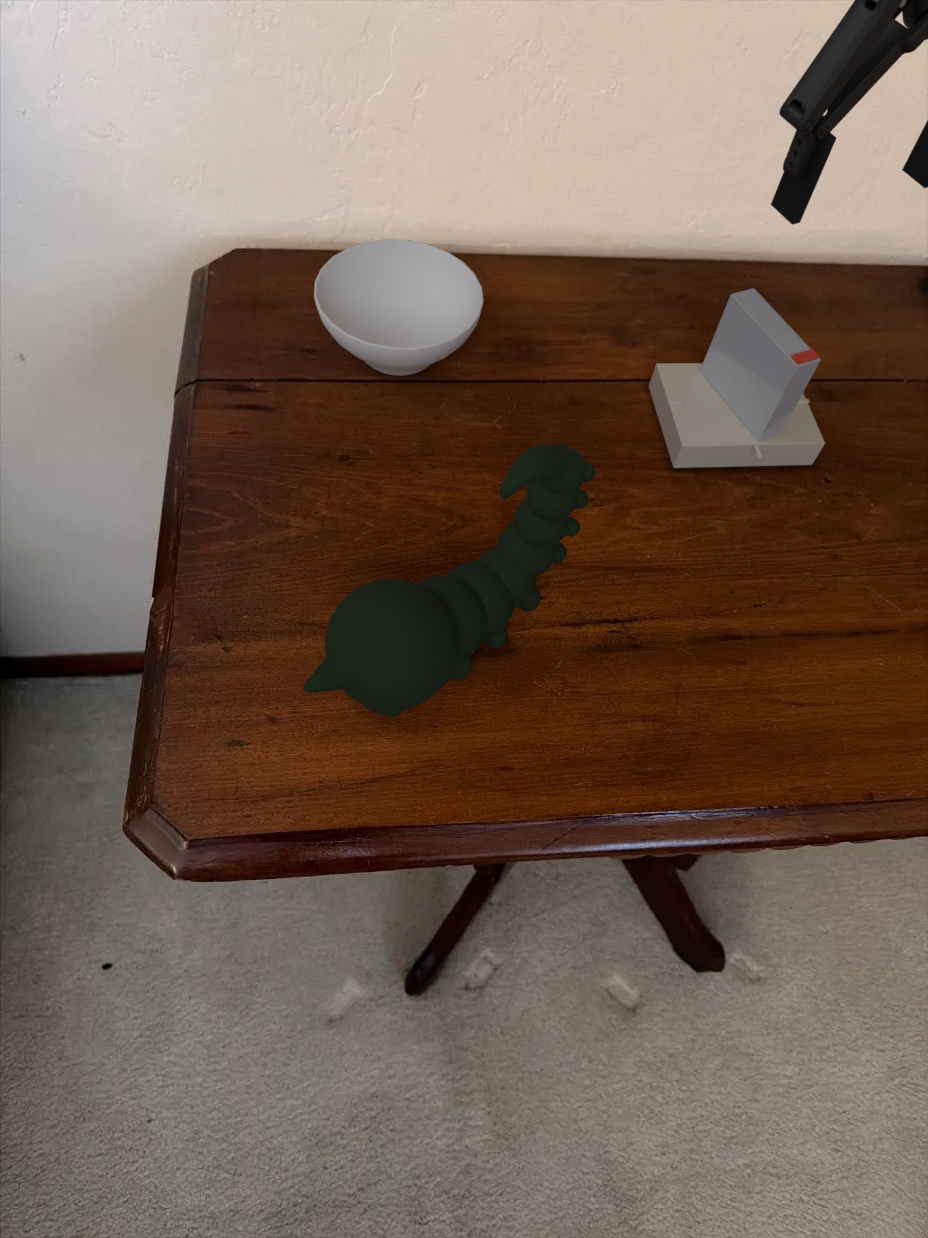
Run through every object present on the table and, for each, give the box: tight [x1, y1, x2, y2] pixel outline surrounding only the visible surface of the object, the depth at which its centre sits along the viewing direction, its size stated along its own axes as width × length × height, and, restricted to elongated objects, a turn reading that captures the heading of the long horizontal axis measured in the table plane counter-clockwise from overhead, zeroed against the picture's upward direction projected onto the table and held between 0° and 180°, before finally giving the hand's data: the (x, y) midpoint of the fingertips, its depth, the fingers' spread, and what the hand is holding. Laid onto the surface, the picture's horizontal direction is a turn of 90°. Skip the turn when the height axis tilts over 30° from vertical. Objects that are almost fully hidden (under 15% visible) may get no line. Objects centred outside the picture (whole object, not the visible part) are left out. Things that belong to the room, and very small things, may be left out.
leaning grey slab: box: [700, 287, 822, 441], centre depth 81 cm, size 10×3×9 cm, turn 25°
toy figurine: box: [302, 442, 596, 719], centre depth 63 cm, size 9×19×25 cm
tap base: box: [648, 362, 826, 469], centre depth 86 cm, size 14×14×3 cm
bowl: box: [313, 238, 484, 376], centre depth 86 cm, size 16×16×7 cm
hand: (852, 195), depth 69 cm, fingers open, 13 cm apart
